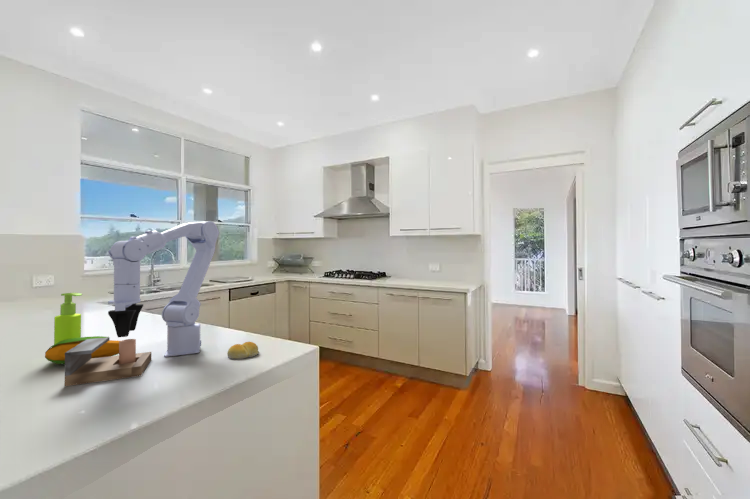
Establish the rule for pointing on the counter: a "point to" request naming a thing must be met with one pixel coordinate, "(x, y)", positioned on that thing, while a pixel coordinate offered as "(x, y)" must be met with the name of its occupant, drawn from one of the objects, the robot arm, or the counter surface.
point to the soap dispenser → (67, 320)
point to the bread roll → (243, 350)
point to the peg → (127, 351)
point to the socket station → (99, 364)
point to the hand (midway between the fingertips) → (126, 333)
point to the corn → (60, 348)
